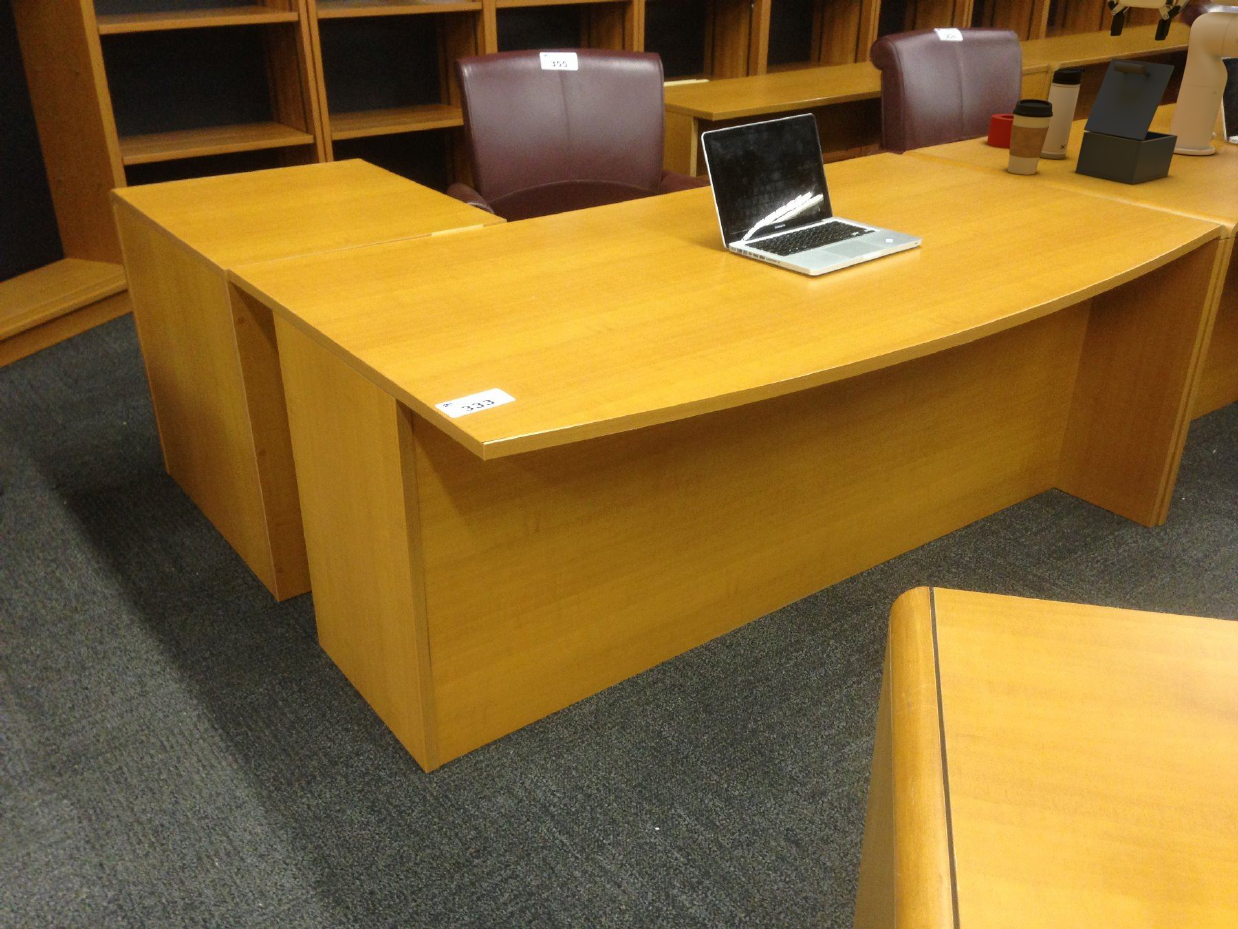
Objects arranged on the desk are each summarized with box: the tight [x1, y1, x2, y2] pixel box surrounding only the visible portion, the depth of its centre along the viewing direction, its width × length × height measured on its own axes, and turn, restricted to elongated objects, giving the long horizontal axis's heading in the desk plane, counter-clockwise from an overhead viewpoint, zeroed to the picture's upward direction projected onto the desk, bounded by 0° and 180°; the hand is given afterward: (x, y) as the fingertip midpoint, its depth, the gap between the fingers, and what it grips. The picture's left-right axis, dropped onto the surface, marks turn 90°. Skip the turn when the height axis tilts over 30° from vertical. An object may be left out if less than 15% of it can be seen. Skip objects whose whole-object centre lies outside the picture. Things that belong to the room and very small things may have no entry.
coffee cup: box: [1007, 98, 1053, 176], centre depth 231 cm, size 8×8×15 cm
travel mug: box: [1040, 67, 1086, 160], centre depth 246 cm, size 6×7×20 cm
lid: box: [1083, 57, 1175, 141], centre depth 222 cm, size 15×14×6 cm
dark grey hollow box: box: [1075, 130, 1178, 185], centre depth 232 cm, size 15×14×9 cm
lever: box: [986, 113, 1014, 149], centre depth 259 cm, size 18×9×7 cm, turn 59°
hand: (1137, 37), depth 217 cm, fingers open, 9 cm apart
